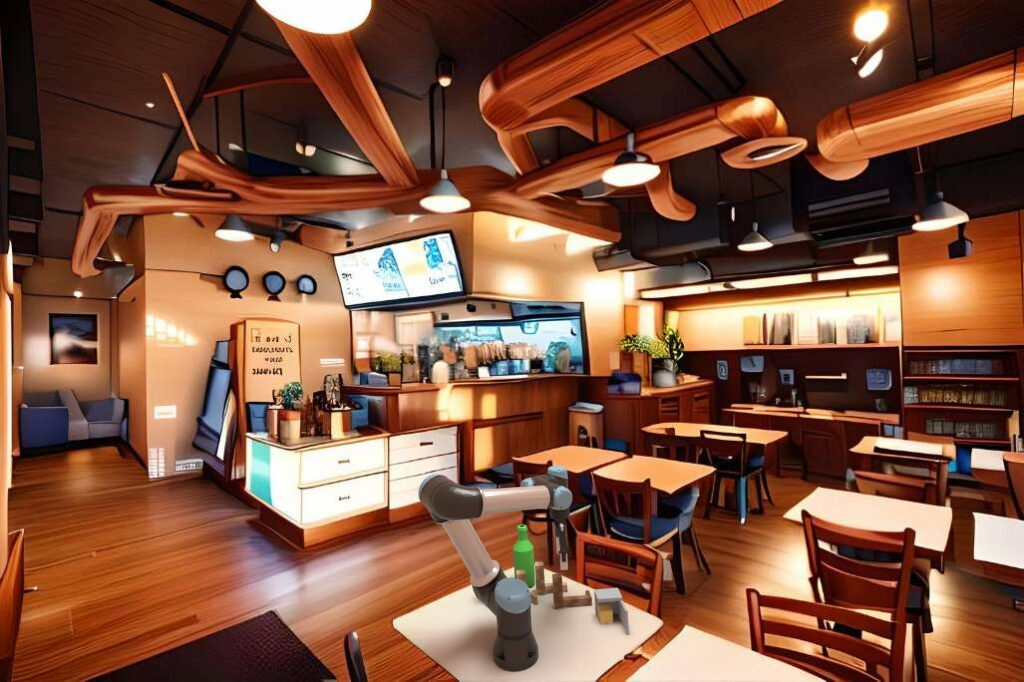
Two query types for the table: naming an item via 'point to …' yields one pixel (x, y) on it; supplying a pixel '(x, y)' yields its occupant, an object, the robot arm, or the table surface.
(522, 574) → the tee
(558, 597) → the brown l-shaped piece
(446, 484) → the robot arm
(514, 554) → the bottle
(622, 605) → the grey angled piece
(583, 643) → the table surface
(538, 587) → the wooden l-shaped block
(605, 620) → the cube
